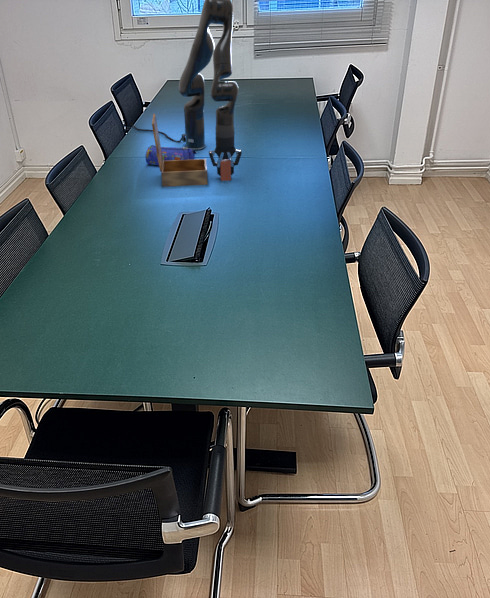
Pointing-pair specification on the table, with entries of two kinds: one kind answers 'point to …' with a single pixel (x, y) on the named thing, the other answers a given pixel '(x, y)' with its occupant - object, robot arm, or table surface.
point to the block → (225, 170)
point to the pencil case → (169, 154)
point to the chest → (184, 172)
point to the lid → (157, 142)
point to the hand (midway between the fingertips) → (225, 174)
